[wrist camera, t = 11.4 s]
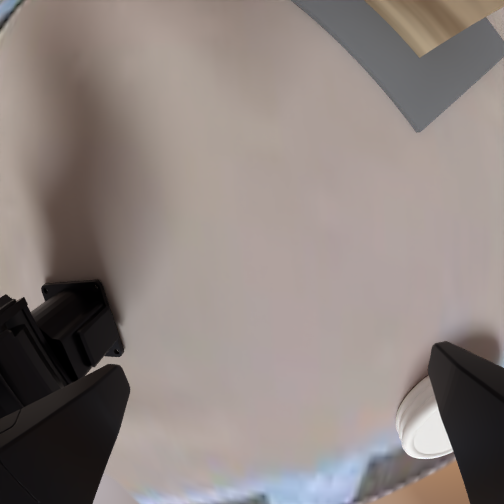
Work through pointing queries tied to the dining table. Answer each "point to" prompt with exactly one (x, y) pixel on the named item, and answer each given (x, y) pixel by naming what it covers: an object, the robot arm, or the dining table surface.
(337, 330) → the dining table surface
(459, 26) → the beech block
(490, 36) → the charcoal mat
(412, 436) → the white short cylinder
